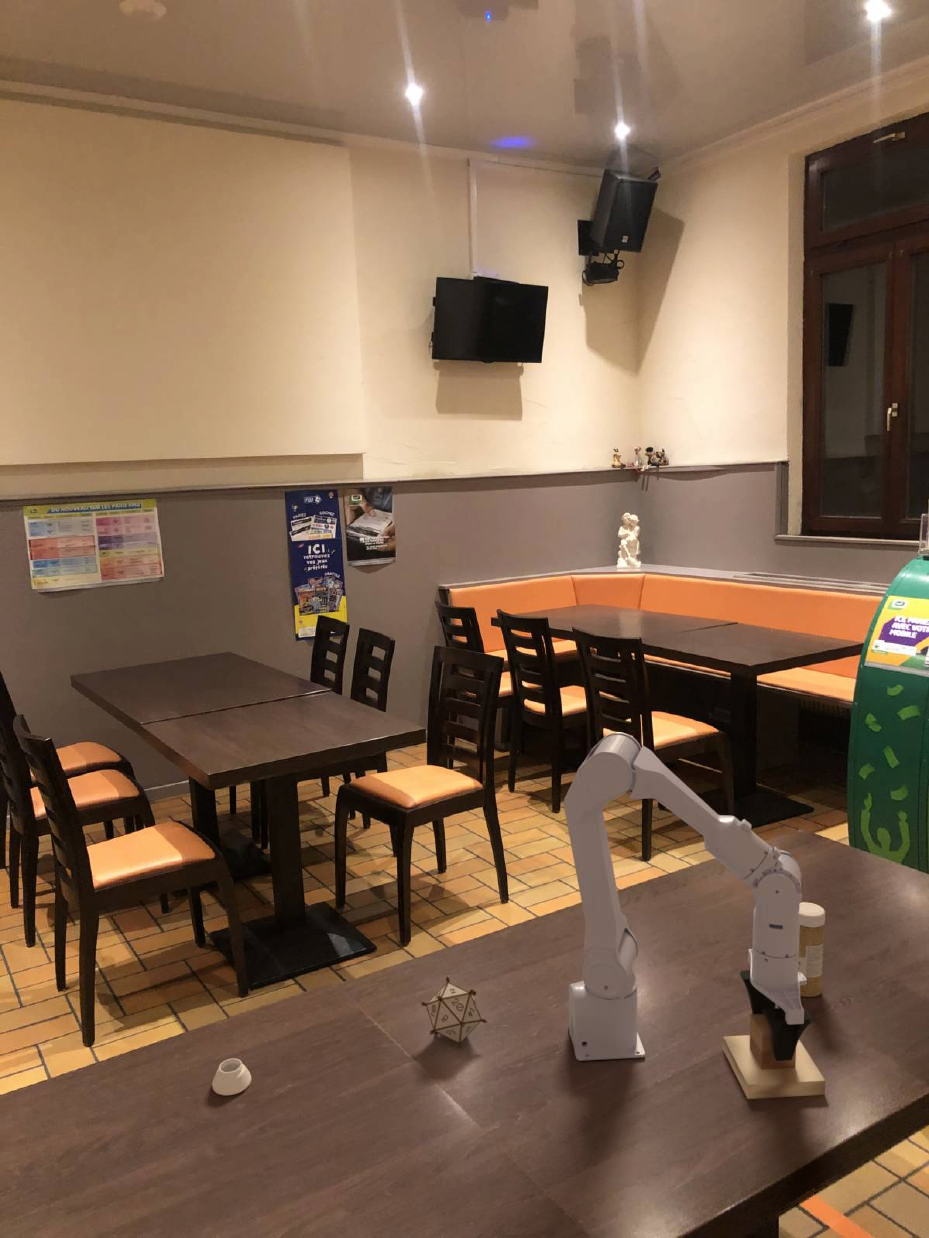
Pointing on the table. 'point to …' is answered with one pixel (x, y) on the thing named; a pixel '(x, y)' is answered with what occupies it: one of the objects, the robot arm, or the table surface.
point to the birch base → (772, 1072)
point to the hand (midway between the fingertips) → (772, 1041)
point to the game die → (453, 1012)
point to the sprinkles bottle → (811, 947)
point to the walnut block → (765, 1045)
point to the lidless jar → (231, 1077)
